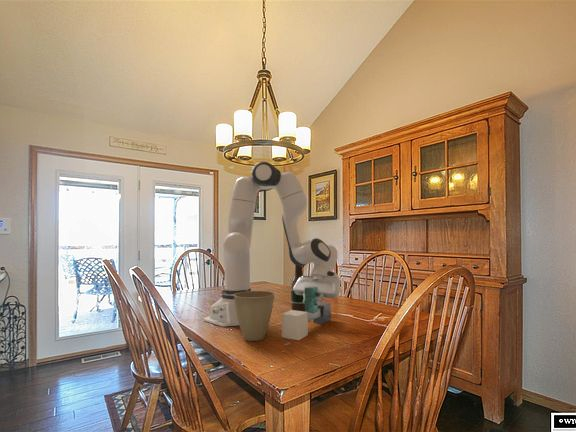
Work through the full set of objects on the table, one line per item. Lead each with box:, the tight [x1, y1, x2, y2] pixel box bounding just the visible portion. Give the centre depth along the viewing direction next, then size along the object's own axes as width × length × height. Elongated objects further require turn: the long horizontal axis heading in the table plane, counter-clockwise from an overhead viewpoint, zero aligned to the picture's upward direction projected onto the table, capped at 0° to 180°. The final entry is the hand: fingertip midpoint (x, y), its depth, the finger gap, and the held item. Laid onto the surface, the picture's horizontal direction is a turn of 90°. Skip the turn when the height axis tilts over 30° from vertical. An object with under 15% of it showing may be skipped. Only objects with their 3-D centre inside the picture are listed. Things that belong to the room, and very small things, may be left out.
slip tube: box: [305, 286, 323, 323], centre depth 131 cm, size 4×22×12 cm, turn 149°
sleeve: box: [312, 301, 332, 325], centre depth 138 cm, size 5×7×8 cm
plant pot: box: [234, 290, 275, 342], centre depth 117 cm, size 15×15×16 cm
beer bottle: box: [290, 264, 305, 312], centre depth 158 cm, size 8×8×24 cm
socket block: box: [281, 309, 309, 341], centre depth 118 cm, size 7×7×8 cm
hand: (310, 304), depth 130 cm, fingers closed on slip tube, 4 cm apart
